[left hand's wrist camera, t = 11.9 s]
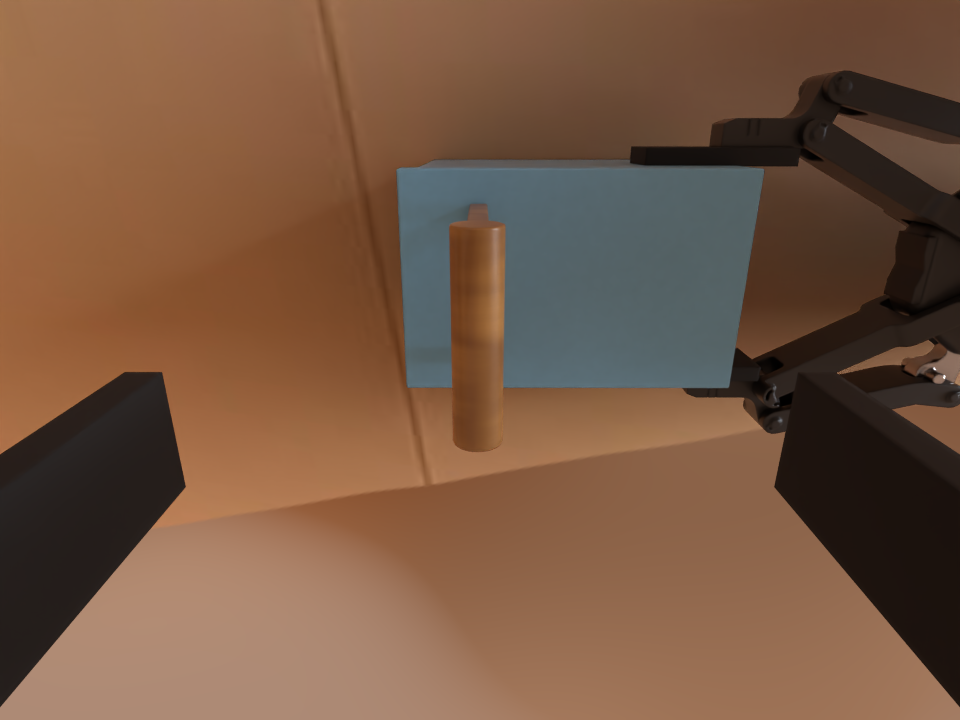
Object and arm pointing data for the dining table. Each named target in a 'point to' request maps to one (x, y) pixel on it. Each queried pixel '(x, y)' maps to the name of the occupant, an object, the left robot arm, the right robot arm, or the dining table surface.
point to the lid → (570, 280)
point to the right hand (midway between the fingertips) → (627, 266)
